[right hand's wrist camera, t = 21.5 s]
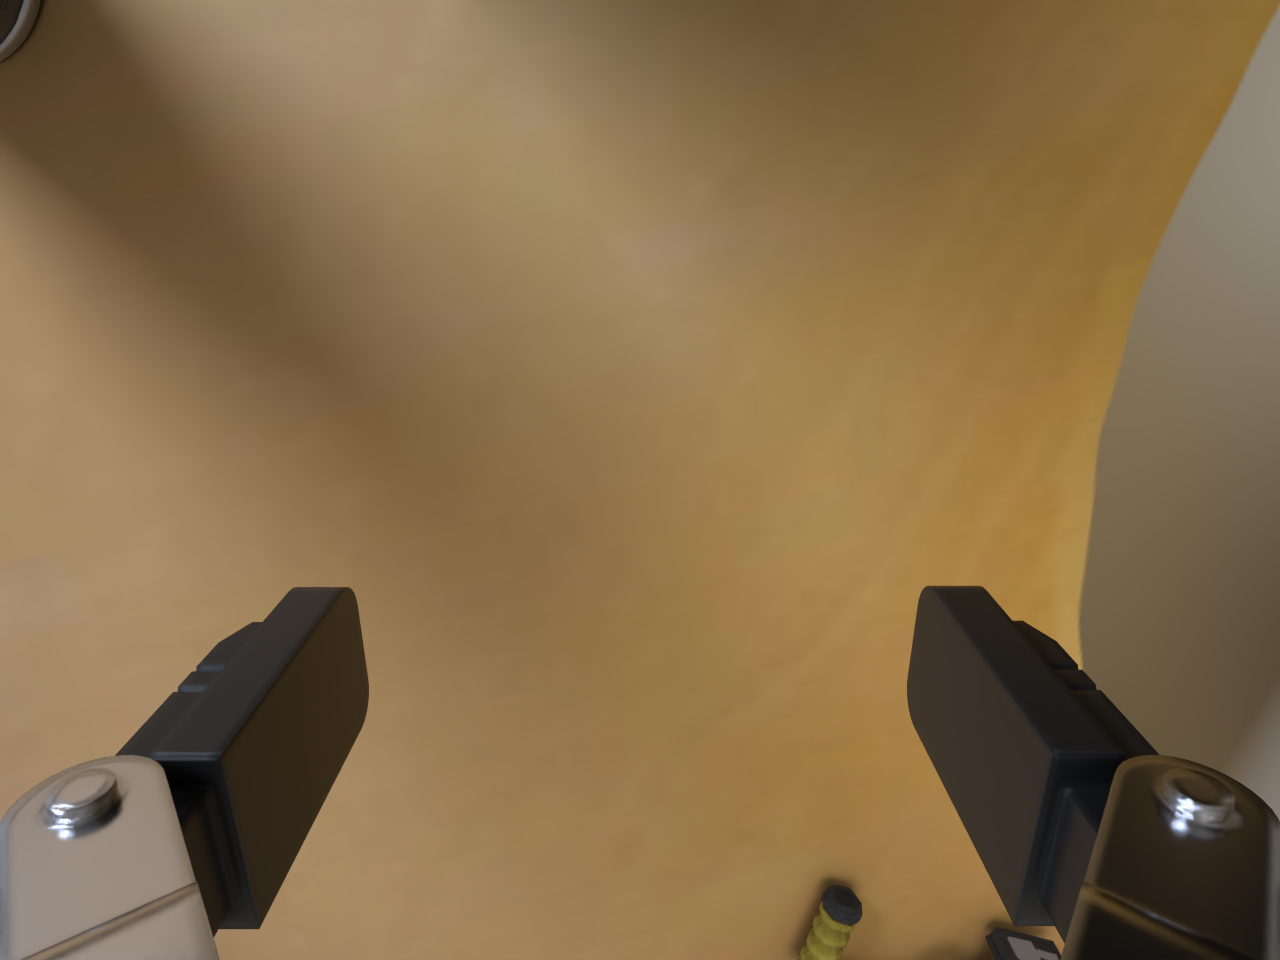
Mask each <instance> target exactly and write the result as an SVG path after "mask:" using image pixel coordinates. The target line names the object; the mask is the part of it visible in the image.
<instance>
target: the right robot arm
mask: <svg viewBox="0 0 1280 960" xmlns="http://www.w3.org/2000/svg"><path fill="white" fill-rule="evenodd" d="M40 1H41V0H0V62H1V61H2V60H4V59H5V58H7V57H8V56H10V55H11V54H12V53H13V52H14V51H15V50H16V49H17V48H19V46H20V45H21V44H22V43H23V41H24V40H25V39H26V37H27V36H28V34H29V32H30V31H31V29H32V26H33V24H34V22H35V20H36V17H37V14H38V10H39V6H40ZM907 698H908V707H909V712H910V716H911V720H912V723H913V725H914V727H915V729H916V731H917V733H918V735H919V737H920V739H921V741H922V743H923V745H924V747H925V749H926V751H927V753H928V755H929V757H930V759H931V761H932V763H933V765H934V767H935V769H936V771H937V773H938V775H939V777H940V779H941V781H942V783H943V785H944V787H945V789H946V791H947V793H948V795H949V797H950V799H951V801H952V803H953V805H954V807H955V809H956V811H957V813H958V815H959V817H960V819H961V821H962V823H963V825H964V827H965V829H966V830H967V832H968V834H969V836H970V838H971V840H972V842H973V844H974V846H975V848H976V850H977V852H978V854H979V856H980V858H981V860H982V862H983V864H984V866H985V868H986V870H987V872H988V874H989V876H990V878H991V880H992V882H993V884H994V886H995V888H996V890H997V892H998V894H999V896H1000V898H1001V900H1002V902H1003V904H1004V906H1005V908H1006V910H1007V912H1008V914H1009V916H1010V918H1011V920H1012V922H1013V924H1014V926H1055V927H1056V929H1057V931H1058V932H1059V934H1060V936H1061V938H1062V940H1063V941H1064V943H1065V945H1064V949H1063V952H1062V956H1061V959H1060V960H1280V821H1279V819H1278V817H1277V816H1276V815H1275V813H1274V812H1273V810H1272V809H1271V808H1270V807H1269V806H1268V805H1267V804H1266V803H1265V802H1264V801H1263V800H1262V799H1261V798H1260V797H1259V796H1257V795H1256V794H1255V793H1254V792H1253V791H1251V790H1250V789H1248V788H1247V787H1245V786H1244V785H1243V784H1241V783H1239V782H1238V781H1236V780H1234V779H1232V778H1231V777H1229V776H1227V775H1225V774H1223V773H1221V772H1219V771H1217V770H1214V769H1212V768H1209V767H1207V766H1204V765H1202V764H1199V763H1195V762H1192V761H1189V760H1185V759H1181V758H1176V757H1170V756H1163V755H1159V754H1158V753H1157V752H1156V750H1155V749H1154V748H1153V747H1152V746H1151V745H1150V744H1149V743H1148V742H1147V741H1146V739H1145V738H1144V737H1143V736H1142V735H1141V734H1140V733H1139V732H1138V731H1137V730H1136V728H1135V727H1134V726H1133V725H1132V724H1131V723H1130V722H1129V721H1128V720H1127V719H1126V717H1125V716H1124V715H1123V714H1122V713H1121V712H1120V711H1119V710H1118V709H1117V708H1116V706H1115V705H1114V704H1113V703H1112V702H1111V701H1110V700H1109V699H1108V698H1107V697H1106V695H1105V694H1104V693H1103V692H1102V691H1101V690H1096V684H1095V683H1094V682H1093V681H1092V680H1091V679H1090V678H1089V677H1088V676H1087V675H1086V673H1085V672H1084V671H1083V670H1078V665H1077V664H1076V662H1075V661H1074V660H1073V659H1072V658H1071V657H1070V656H1069V655H1068V654H1067V653H1066V651H1065V650H1064V649H1063V648H1062V647H1061V646H1060V645H1059V644H1058V643H1057V642H1056V641H1055V640H1053V639H1052V638H1050V637H1048V636H1047V635H1045V634H1044V633H1042V632H1040V631H1039V630H1037V629H1035V628H1034V627H1032V626H1030V625H1029V624H1027V623H1025V622H1024V621H1012V620H1011V619H1010V617H1009V616H1008V615H1007V614H1006V613H1005V612H1004V610H1003V609H1002V608H1001V607H1000V606H999V605H998V603H997V602H996V601H995V600H994V599H993V597H992V596H991V595H990V594H989V593H988V592H987V590H986V589H984V588H983V587H981V586H926V587H925V588H924V589H923V590H922V592H921V594H920V598H919V602H918V608H917V615H916V622H915V630H914V637H913V644H912V651H911V658H910V665H909V672H908V680H907ZM368 699H369V683H368V675H367V668H366V661H365V653H364V646H363V639H362V632H361V625H360V618H359V611H358V605H357V600H356V596H355V594H354V592H353V591H352V589H350V588H348V587H295V588H293V589H291V590H290V591H289V592H288V593H287V594H286V596H285V597H284V598H283V599H282V600H281V601H280V603H279V604H278V605H277V606H276V607H275V608H274V609H273V611H272V612H271V613H270V614H269V615H268V616H267V618H266V619H265V620H264V621H263V622H252V623H250V624H249V625H247V626H245V627H244V628H242V629H240V630H239V631H237V632H236V633H234V634H232V635H231V636H229V637H227V638H226V639H224V640H222V641H221V642H219V643H218V644H217V645H216V646H215V647H214V648H213V649H212V650H211V652H210V653H209V654H208V655H207V656H206V657H205V658H204V659H203V660H202V661H201V662H200V664H199V665H198V666H197V670H196V672H191V673H190V674H189V676H188V677H187V678H186V679H185V680H184V681H183V682H182V683H181V684H180V685H179V686H178V692H173V693H172V694H171V695H170V696H169V697H168V698H167V700H166V701H165V702H164V703H163V704H162V705H161V706H160V707H159V708H158V709H157V710H156V712H155V713H154V714H153V715H152V716H151V717H150V718H149V719H148V720H147V721H146V722H145V724H144V725H143V726H142V727H141V728H140V729H139V730H138V731H137V732H136V733H135V734H134V736H133V737H132V738H131V739H130V740H129V741H128V742H127V743H126V744H125V745H124V746H123V747H122V749H121V750H120V751H119V752H118V753H117V754H116V755H115V756H110V757H104V758H99V759H95V760H91V761H88V762H84V763H81V764H78V765H76V766H73V767H71V768H68V769H65V770H63V771H61V772H59V773H57V774H55V775H53V776H51V777H49V778H48V779H46V780H44V781H42V782H41V783H39V784H37V785H36V786H35V787H33V788H32V789H30V790H29V791H27V792H26V793H25V794H24V795H23V796H21V797H20V798H19V799H18V800H17V801H16V802H15V803H14V804H13V805H12V806H11V807H10V808H9V809H8V810H7V812H6V813H5V815H4V816H3V817H2V819H1V821H0V960H220V959H219V956H218V952H217V949H216V945H215V942H214V936H215V934H216V933H217V931H218V929H259V928H260V926H261V924H262V922H263V921H264V919H265V917H266V915H267V913H268V911H269V909H270V907H271V905H272V903H273V901H274V899H275V897H276V895H277V893H278V891H279V889H280V887H281V885H282V883H283V881H284V879H285V877H286V875H287V874H288V872H289V870H290V868H291V866H292V864H293V862H294V860H295V858H296V856H297V854H298V852H299V850H300V848H301V846H302V844H303V842H304V840H305V838H306V836H307V834H308V832H309V830H310V829H311V827H312V825H313V823H314V821H315V819H316V817H317V815H318V813H319V811H320V809H321V807H322V805H323V803H324V801H325V799H326V797H327V795H328V793H329V791H330V789H331V787H332V785H333V783H334V782H335V780H336V778H337V776H338V774H339V772H340V770H341V768H342V766H343V764H344V762H345V760H346V758H347V756H348V754H349V752H350V750H351V748H352V746H353V744H354V742H355V740H356V738H357V736H358V735H359V733H360V731H361V729H362V726H363V724H364V721H365V717H366V713H367V707H368Z"/></svg>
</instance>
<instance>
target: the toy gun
mask: <svg viewBox="0 0 1280 960" xmlns="http://www.w3.org/2000/svg"><path fill="white" fill-rule="evenodd" d="M819 910H820V914H818V915H817V916H815V917H814V921H813V928H812V929H811V930H810V932H809V934H808V937H807V940H806V942H807V944H806V945H805V946H803V947H802V949H801V952H800V958H799V959H797V960H840V958H841V956H842V955H843V947H846V945H847V943H848V940H849V938H850V933H849V932H851V931H853V929H854V927H855V924H856V923H857V922H858V921H859V920H860V919H861V916H862V903H861V902H860V901H859V899H858V898H857V897H856V895H855V894H854V893H853V892H852V890H851V889H850V888H847V887H840V886H831V887H830V888H828V889H827V890H826V891H825V893H824V894H823V896H822V902H821V904H820V906H819ZM986 940H987V942H988V944H989V946H990V948H991V950H992V952H993V954H994V957H995V959H996V960H1060V959H1061V955H1060V953H1059V951H1058V949H1057V947H1056V946H1055V944H1054V942H1053V941H1051V940H1047V939H1043V938H1039V937H1035V936H1031V935H1026V934H1022V933H1018V932H1013V931H1009V930H1005V929H1000V928H995V929H994V930H993V931H992V933H991V934H990V935H988V936H986Z"/></svg>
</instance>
